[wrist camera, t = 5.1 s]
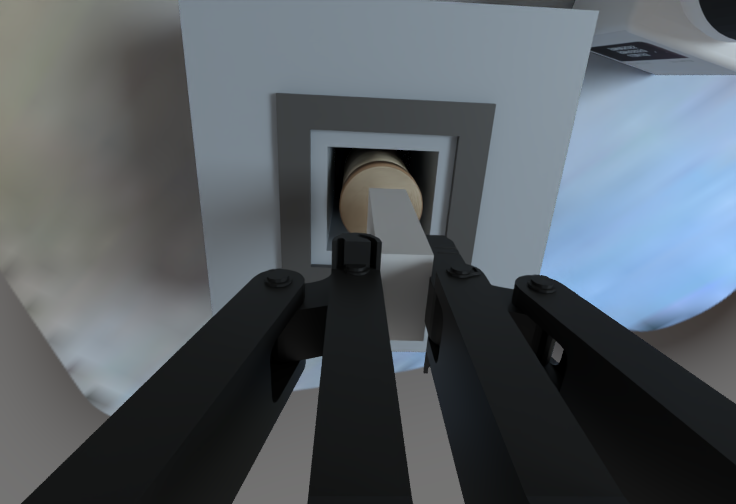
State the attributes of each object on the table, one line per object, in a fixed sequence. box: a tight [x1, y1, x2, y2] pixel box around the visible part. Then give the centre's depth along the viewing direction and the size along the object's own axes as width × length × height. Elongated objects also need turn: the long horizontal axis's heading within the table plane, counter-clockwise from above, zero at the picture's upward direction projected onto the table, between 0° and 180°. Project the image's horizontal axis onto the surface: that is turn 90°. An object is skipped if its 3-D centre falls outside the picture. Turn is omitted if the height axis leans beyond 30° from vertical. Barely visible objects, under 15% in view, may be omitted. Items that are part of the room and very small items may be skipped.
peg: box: [339, 148, 423, 234], centre depth 25 cm, size 4×4×9 cm
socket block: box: [178, 0, 599, 352], centre depth 26 cm, size 18×18×10 cm
